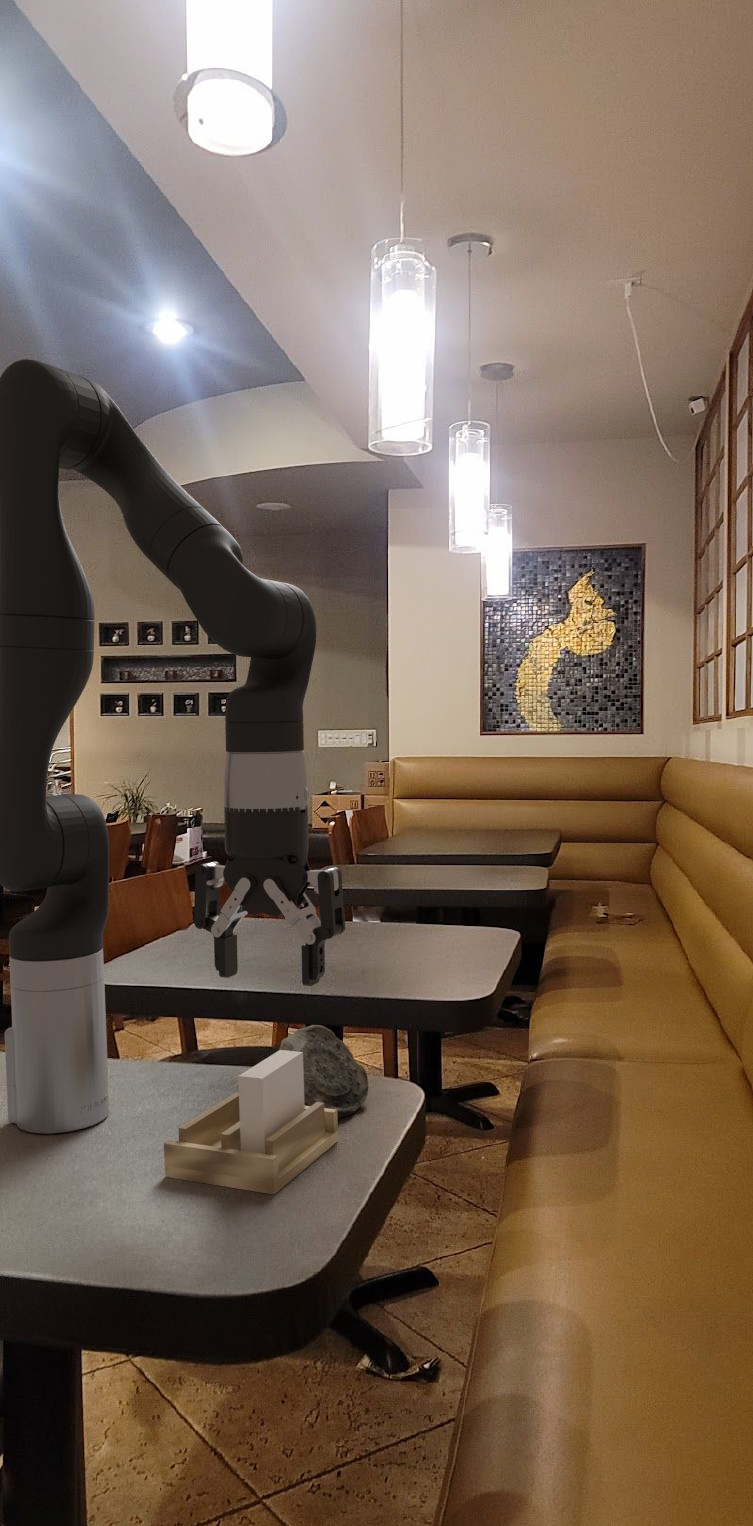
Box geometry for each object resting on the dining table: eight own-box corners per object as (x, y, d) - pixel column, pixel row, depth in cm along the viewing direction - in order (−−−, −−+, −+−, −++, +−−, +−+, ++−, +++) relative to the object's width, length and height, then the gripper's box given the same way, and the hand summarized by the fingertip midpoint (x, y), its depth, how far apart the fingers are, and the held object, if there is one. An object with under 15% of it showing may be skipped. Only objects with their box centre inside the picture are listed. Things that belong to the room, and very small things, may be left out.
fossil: (355, 1124, 106) (305, 1033, 106) (278, 1161, 108) (230, 1073, 108) (381, 1084, 116) (335, 1002, 117) (310, 1119, 118) (266, 1038, 119)
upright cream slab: (241, 1165, 95) (238, 1075, 95) (282, 1133, 103) (280, 1049, 102) (265, 1169, 94) (262, 1078, 94) (305, 1136, 102) (302, 1051, 101)
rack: (165, 1176, 96) (163, 1131, 96) (238, 1126, 107) (236, 1087, 107) (274, 1194, 91) (272, 1147, 91) (338, 1140, 103) (336, 1099, 103)
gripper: (175, 803, 97) (179, 983, 97) (318, 806, 91) (321, 997, 92) (219, 797, 104) (223, 965, 104) (355, 800, 98) (357, 977, 99)
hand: (269, 979), depth 98 cm, fingers open, 8 cm apart
